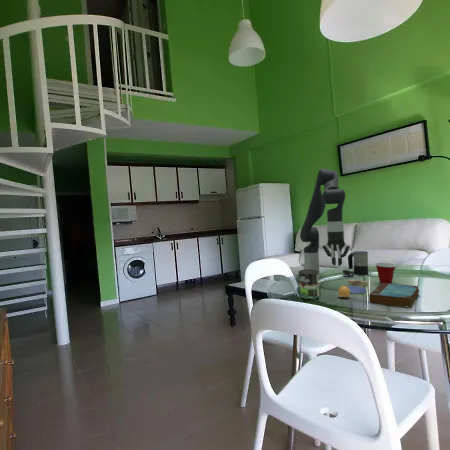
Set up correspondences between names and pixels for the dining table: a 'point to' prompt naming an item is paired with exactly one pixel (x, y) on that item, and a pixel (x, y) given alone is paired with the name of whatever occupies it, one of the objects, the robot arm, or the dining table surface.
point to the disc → (356, 289)
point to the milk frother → (358, 263)
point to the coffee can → (309, 282)
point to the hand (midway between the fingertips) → (337, 265)
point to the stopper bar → (357, 282)
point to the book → (394, 294)
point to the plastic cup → (385, 272)
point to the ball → (344, 291)
